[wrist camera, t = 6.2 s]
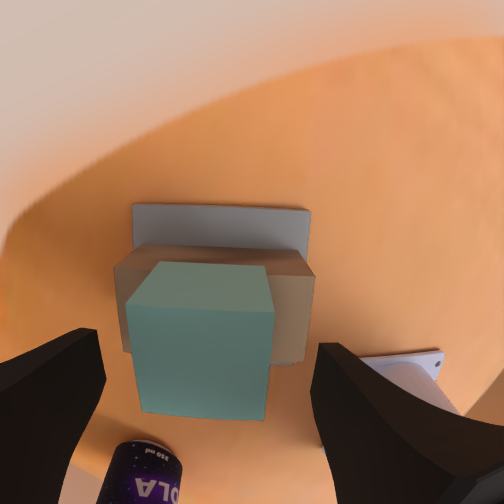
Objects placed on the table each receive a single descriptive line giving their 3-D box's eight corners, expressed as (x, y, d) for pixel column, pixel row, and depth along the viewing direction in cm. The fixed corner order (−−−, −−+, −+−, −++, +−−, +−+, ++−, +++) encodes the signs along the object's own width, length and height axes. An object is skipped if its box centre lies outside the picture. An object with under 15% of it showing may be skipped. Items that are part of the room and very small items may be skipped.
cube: (258, 355, 13) (264, 420, 9) (165, 349, 13) (142, 411, 9) (264, 265, 12) (274, 312, 8) (159, 261, 12) (125, 304, 8)
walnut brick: (298, 250, 16) (315, 276, 12) (290, 321, 17) (303, 361, 13) (141, 243, 16) (113, 267, 12) (146, 313, 17) (123, 351, 13)
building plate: (291, 357, 19) (293, 365, 18) (146, 350, 18) (143, 357, 17) (307, 209, 16) (311, 211, 16) (137, 203, 16) (132, 205, 15)
